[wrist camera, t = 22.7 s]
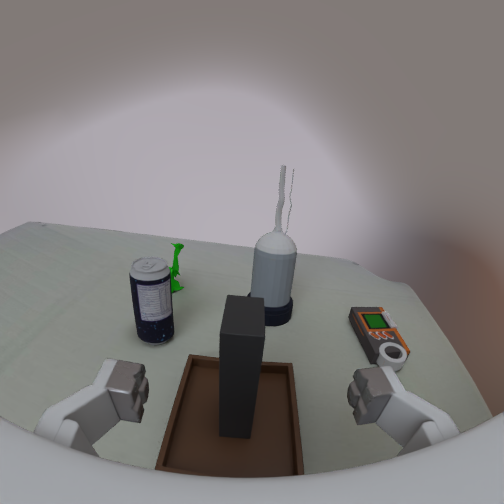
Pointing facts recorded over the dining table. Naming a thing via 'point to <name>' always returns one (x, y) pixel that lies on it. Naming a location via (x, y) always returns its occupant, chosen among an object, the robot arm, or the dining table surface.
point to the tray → (225, 448)
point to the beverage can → (152, 299)
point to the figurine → (175, 268)
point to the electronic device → (379, 336)
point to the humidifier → (275, 268)
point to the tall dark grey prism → (240, 364)
